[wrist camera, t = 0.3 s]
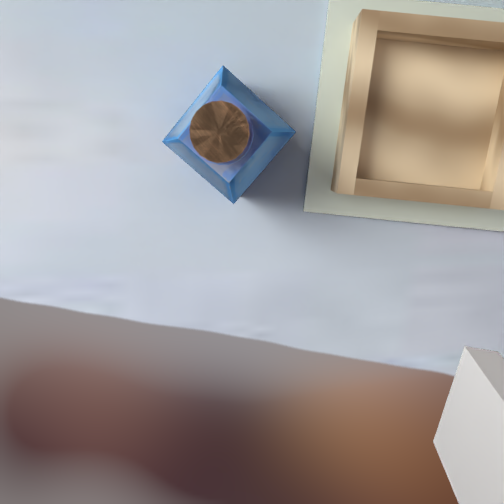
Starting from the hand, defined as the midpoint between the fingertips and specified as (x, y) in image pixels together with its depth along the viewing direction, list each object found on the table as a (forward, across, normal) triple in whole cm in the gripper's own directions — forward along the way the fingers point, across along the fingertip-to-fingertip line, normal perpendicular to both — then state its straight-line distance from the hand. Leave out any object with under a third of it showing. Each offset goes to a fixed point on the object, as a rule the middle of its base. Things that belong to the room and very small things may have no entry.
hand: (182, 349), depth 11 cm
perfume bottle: (+26, -2, +3) cm, 27 cm away
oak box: (+27, +11, +6) cm, 30 cm away
